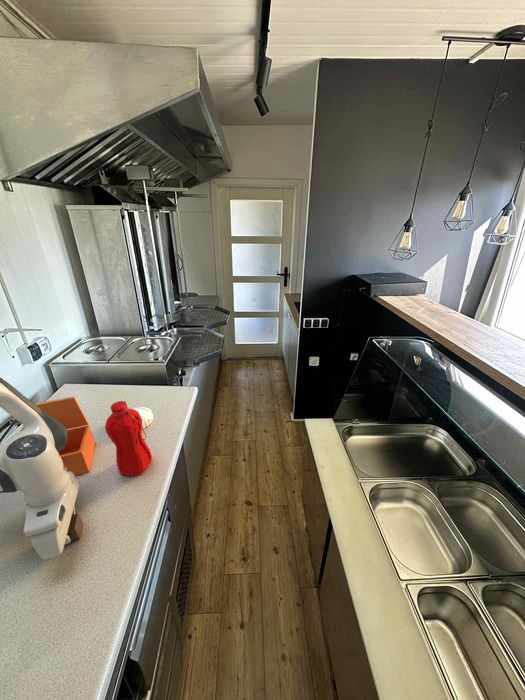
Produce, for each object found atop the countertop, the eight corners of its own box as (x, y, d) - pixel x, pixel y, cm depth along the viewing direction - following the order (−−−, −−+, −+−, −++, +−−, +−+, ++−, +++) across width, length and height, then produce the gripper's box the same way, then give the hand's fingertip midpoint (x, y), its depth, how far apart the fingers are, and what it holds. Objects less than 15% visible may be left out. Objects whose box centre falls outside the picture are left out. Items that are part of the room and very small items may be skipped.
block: (60, 546, 73) (54, 535, 71) (64, 529, 76) (58, 518, 74) (80, 539, 74) (74, 528, 72) (83, 523, 78) (78, 512, 76)
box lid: (73, 398, 91) (74, 396, 92) (31, 406, 88) (31, 404, 88) (88, 424, 101) (88, 422, 101) (50, 433, 97) (50, 431, 98)
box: (89, 471, 93) (81, 452, 89) (48, 482, 90) (38, 462, 86) (95, 443, 105) (88, 424, 101) (59, 452, 101) (51, 433, 98)
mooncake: (117, 421, 116) (115, 414, 114) (146, 409, 123) (144, 402, 121) (127, 437, 108) (125, 429, 106) (158, 422, 115) (156, 415, 113)
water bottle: (146, 479, 90) (128, 416, 79) (115, 475, 92) (93, 412, 81) (160, 457, 98) (146, 397, 87) (131, 453, 100) (114, 394, 89)
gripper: (49, 465, 76) (65, 500, 82) (19, 540, 59) (43, 577, 65) (75, 459, 78) (90, 493, 84) (55, 529, 61) (75, 566, 67)
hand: (69, 530), depth 74 cm, fingers closed on block, 4 cm apart
